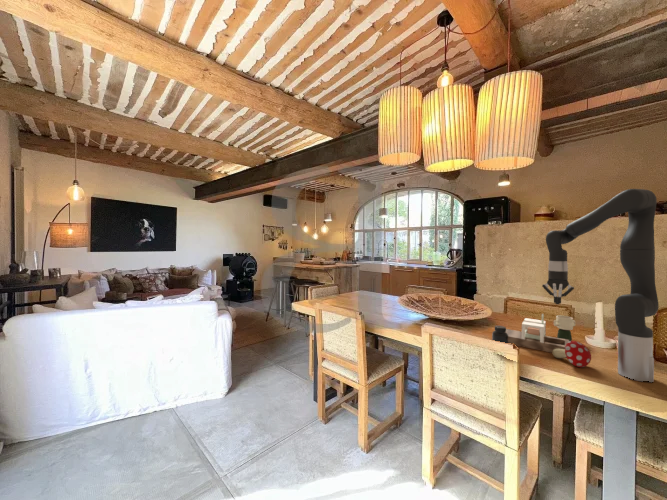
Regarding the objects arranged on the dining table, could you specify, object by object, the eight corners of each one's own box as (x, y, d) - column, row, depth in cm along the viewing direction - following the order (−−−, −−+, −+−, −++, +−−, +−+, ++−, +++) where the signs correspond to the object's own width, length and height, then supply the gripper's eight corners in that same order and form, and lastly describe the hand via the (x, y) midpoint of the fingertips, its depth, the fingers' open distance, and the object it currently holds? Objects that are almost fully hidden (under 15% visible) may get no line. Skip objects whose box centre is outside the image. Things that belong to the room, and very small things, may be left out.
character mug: (569, 338, 151) (570, 315, 151) (580, 342, 144) (580, 319, 144) (549, 337, 153) (549, 315, 152) (558, 342, 145) (558, 318, 145)
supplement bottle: (492, 351, 134) (492, 327, 134) (491, 346, 140) (491, 324, 140) (508, 353, 131) (508, 329, 131) (507, 349, 137) (507, 325, 137)
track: (568, 347, 138) (569, 339, 138) (568, 356, 128) (568, 347, 128) (505, 335, 157) (505, 328, 157) (500, 342, 146) (500, 334, 146)
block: (540, 337, 142) (540, 327, 142) (539, 339, 139) (539, 330, 139) (528, 335, 146) (528, 325, 146) (527, 337, 142) (527, 328, 142)
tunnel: (545, 335, 144) (545, 321, 144) (543, 342, 134) (543, 327, 134) (525, 332, 150) (525, 318, 150) (521, 338, 140) (521, 323, 140)
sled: (543, 336, 143) (544, 312, 142) (542, 340, 137) (542, 315, 136) (525, 333, 148) (525, 310, 148) (523, 337, 142) (523, 313, 142)
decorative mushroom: (545, 336, 130) (577, 335, 116) (565, 348, 130) (599, 348, 116) (541, 358, 126) (574, 359, 112) (562, 370, 126) (597, 373, 112)
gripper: (540, 269, 137) (540, 303, 137) (575, 271, 128) (575, 307, 128) (541, 268, 142) (541, 301, 143) (575, 270, 133) (575, 304, 134)
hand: (557, 304), depth 135 cm, fingers closed
